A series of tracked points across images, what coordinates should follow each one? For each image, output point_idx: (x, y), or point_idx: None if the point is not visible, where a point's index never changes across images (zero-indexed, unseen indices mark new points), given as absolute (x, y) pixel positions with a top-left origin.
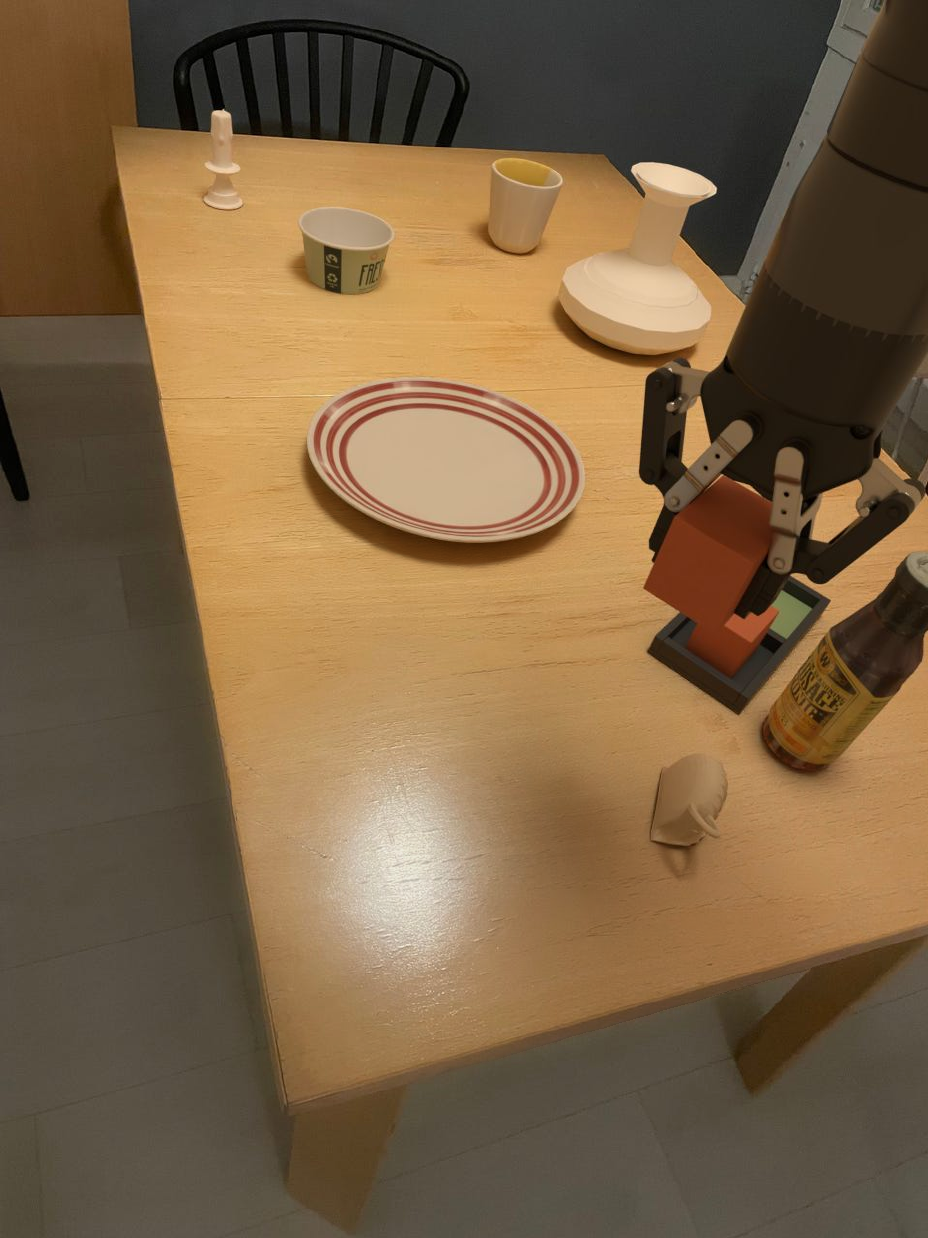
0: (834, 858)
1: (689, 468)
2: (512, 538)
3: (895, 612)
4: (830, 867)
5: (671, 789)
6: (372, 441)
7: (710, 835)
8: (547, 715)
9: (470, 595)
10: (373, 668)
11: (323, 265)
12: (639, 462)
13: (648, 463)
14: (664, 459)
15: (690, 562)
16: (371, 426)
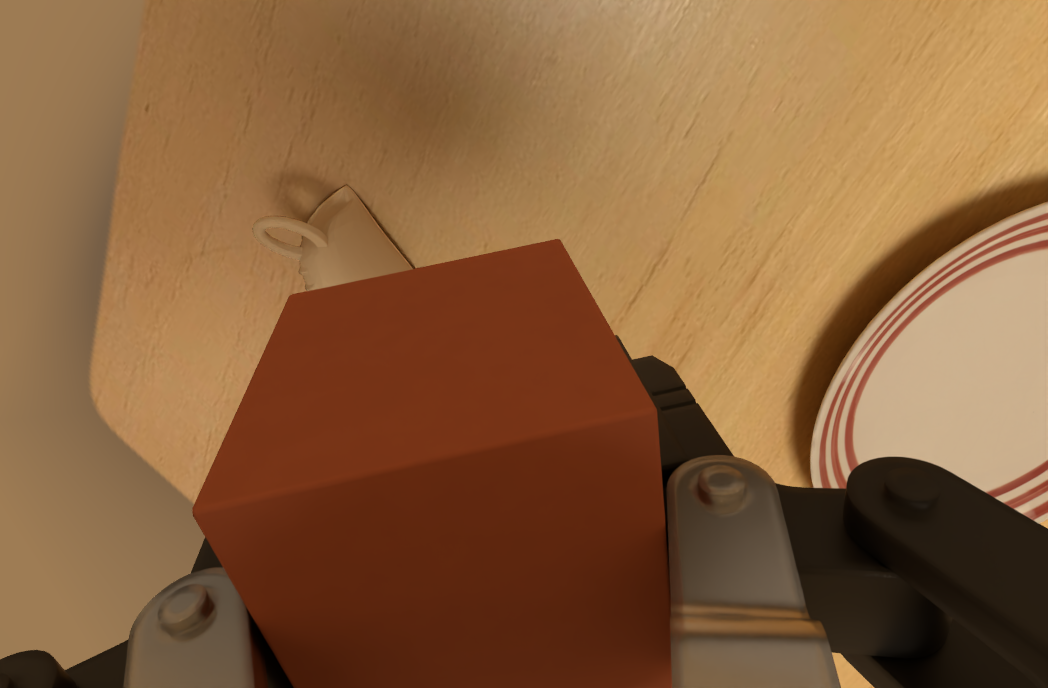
0: (200, 379)
1: (829, 661)
2: (839, 367)
3: None
4: (192, 365)
5: (377, 253)
6: None
7: (258, 219)
8: (588, 208)
9: (809, 260)
10: (823, 26)
11: None
12: (997, 499)
13: (969, 525)
14: (938, 599)
15: (470, 352)
16: None
